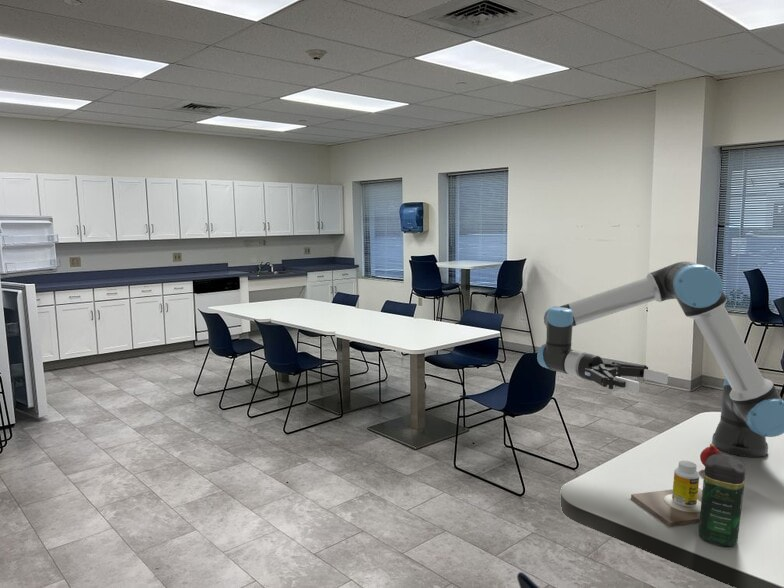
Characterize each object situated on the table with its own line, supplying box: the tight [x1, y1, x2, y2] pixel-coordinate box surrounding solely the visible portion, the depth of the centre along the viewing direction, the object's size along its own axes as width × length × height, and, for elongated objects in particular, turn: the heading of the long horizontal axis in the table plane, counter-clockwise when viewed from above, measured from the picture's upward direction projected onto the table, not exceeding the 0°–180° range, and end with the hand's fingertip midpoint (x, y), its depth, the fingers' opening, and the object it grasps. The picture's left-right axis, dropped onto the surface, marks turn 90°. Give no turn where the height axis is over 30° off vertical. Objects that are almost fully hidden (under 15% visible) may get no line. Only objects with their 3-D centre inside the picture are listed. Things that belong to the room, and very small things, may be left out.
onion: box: [699, 443, 723, 467], centre depth 163 cm, size 6×6×8 cm
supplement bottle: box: [672, 460, 700, 507], centre depth 142 cm, size 6×6×10 cm
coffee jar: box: [698, 453, 746, 547], centre depth 128 cm, size 10×8×19 cm
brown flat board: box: [630, 487, 703, 527], centre depth 143 cm, size 20×14×1 cm
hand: (653, 383), depth 150 cm, fingers open, 13 cm apart
